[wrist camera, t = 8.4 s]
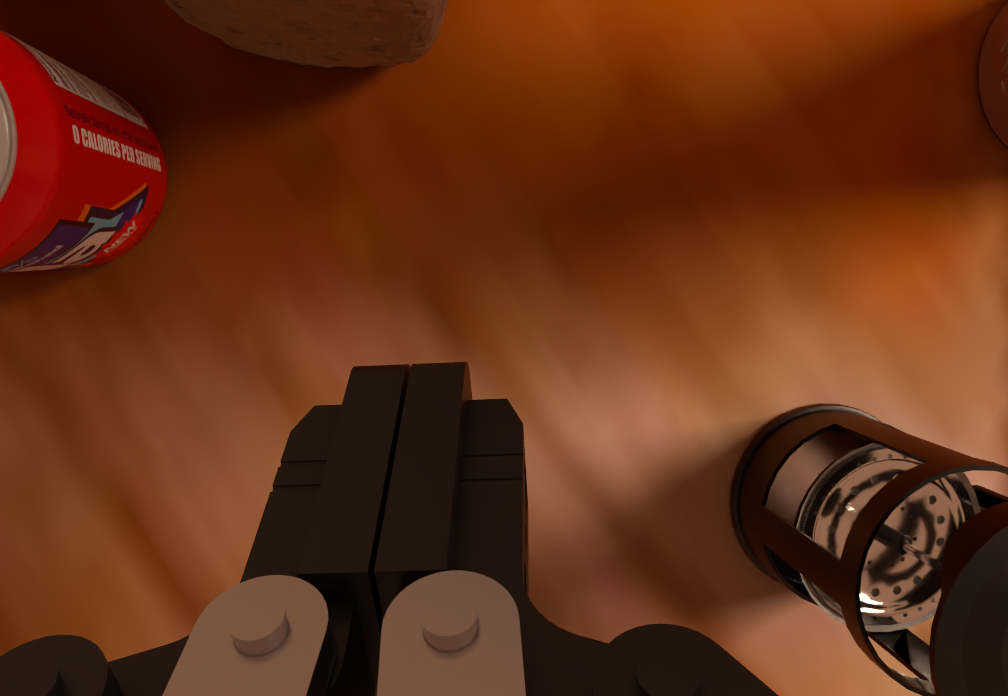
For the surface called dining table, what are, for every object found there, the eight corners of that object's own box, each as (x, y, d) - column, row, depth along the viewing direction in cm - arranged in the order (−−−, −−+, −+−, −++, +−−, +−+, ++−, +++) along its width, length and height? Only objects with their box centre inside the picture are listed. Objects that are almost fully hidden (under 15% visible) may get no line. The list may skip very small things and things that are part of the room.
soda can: (177, 93, 39) (43, -1, 24) (170, 274, 40) (35, 288, 25) (-14, 74, 38) (-275, -36, 24) (-18, 260, 39) (-272, 266, 24)
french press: (717, 597, 45) (1047, 957, 22) (713, 410, 44) (1054, 585, 21) (941, 576, 46) (1469, 894, 23) (941, 394, 45) (1497, 542, 22)
